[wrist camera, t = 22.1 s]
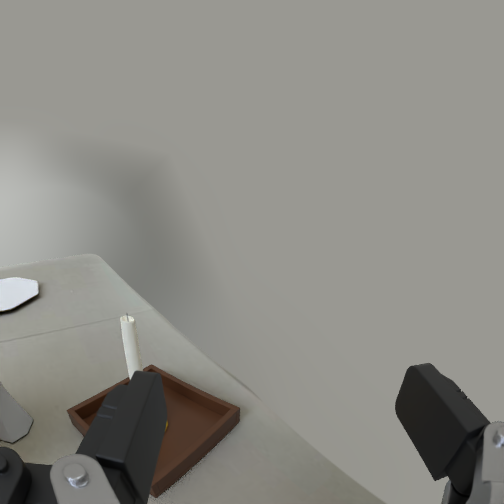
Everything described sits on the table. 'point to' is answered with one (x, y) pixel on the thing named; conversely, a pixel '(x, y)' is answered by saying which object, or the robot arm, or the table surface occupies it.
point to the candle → (131, 346)
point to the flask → (12, 418)
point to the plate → (16, 292)
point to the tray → (174, 426)
